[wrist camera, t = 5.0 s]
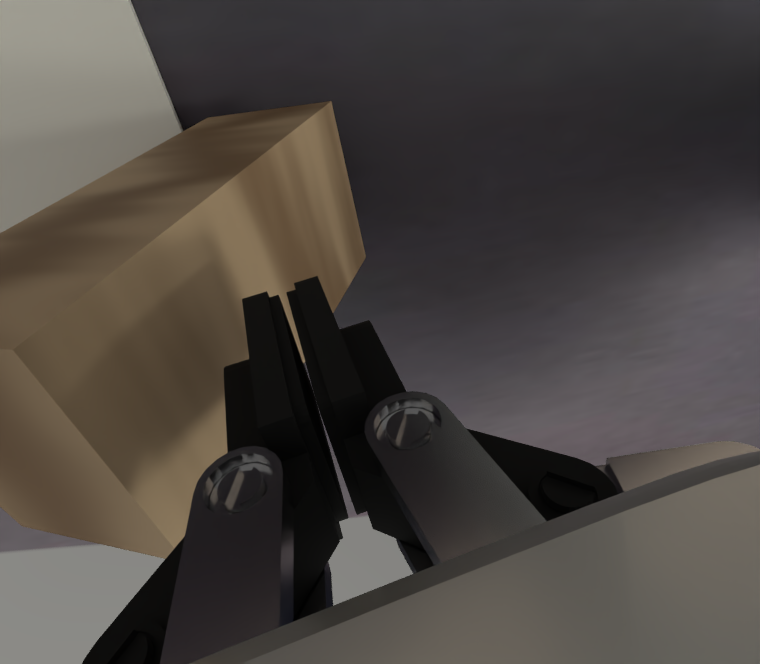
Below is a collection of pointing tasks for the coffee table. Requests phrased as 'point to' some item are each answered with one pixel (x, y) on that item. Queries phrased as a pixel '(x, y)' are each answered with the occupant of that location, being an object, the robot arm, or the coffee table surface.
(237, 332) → the brown wooden block
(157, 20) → the coffee table surface
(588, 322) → the coffee table surface
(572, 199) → the coffee table surface
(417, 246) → the coffee table surface
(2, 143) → the mat
